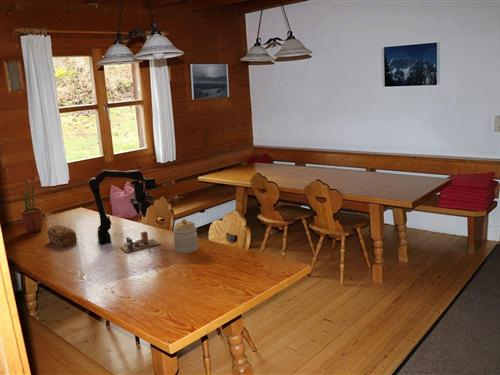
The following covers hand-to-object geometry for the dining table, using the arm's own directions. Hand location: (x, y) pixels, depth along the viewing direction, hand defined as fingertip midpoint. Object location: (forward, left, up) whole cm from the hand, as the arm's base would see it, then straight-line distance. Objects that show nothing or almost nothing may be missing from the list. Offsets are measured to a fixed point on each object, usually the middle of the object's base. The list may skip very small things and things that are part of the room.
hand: (141, 215), depth 294 cm
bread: (-43, +25, -14) cm, 51 cm away
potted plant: (-52, +64, -13) cm, 83 cm away
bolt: (-11, -18, -11) cm, 24 cm away
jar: (+9, -42, -13) cm, 45 cm away
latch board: (-9, -18, -13) cm, 24 cm away
